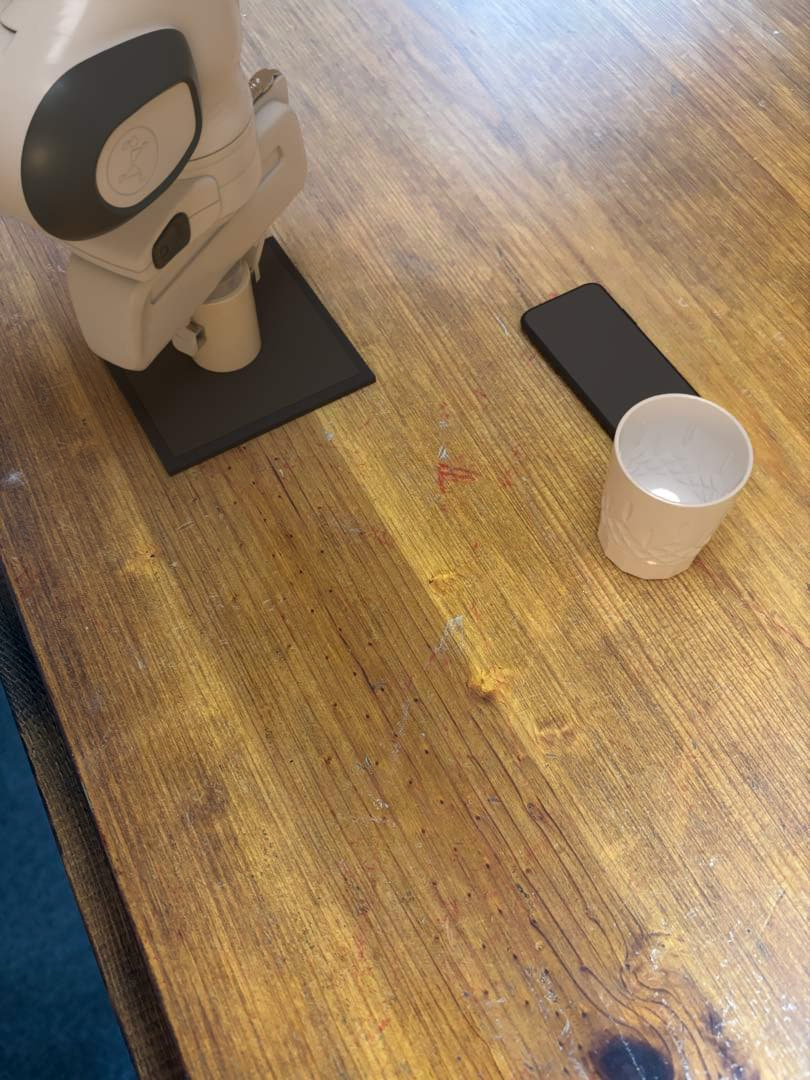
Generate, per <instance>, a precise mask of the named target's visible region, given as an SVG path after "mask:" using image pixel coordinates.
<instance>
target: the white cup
mask: <svg viewBox="0 0 810 1080" xmlns="http://www.w3.org/2000/svg"><path fill="white" fill-rule="evenodd" d="M701 397H702V396H701ZM701 397H697V396H693V395H688V394H662V395H657V396H653V397H650V398H648V399H645V400H643V401H641V402H639V403H638V404H636V405H635V406H633V407H632V408H631V409H630V410H629V411H628V412H627V413H626V414H625V415H624V416H623V418H622V419H621V421H620V423H619V425H618V427H617V430H616V434H615V438H614V439H613V443H612V448H611V452H610V457H609V461H608V465H607V468H606V473H605V474H606V475H605V479H604V483H603V484H604V485H603V490H602V496H601V501H600V508H601V509H600V513H599V516H598V517H599V518H598V526H597V531H596V532H597V534H596V536H597V539H598V542H599V543H600V546H601V548H602V551H603V554H604V556H605V557H607V558H608V559H609V560H610V561H611V562H612V563H613V564H614V565H615V566H616V567H617V568H618V569H619V570H620V571H621V572H624V573H626V574H629V575H632V576H633V577H637V578H639V579H642V580H668V579H670V578H673V577H675V576H678V575H679V574H682V573H683V572H685V571H687V570H689V568H690V567H691V566H692V564H693V562H694V561H695V560H696V558H697V557H698V556H699V554H700V553H701V551H702V549H703V548H704V547H706V545H707V544H709V542H710V540H711V538H712V537H713V536H714V534H715V533H716V531H717V529H718V528H719V527H720V525H721V524H722V523H723V521H724V520H725V518H726V516H727V515H728V513H729V512H730V510H731V508H732V506H733V505H734V503H735V501H736V499H737V498H738V496H739V495H740V493H741V491H742V490H743V488H744V486H745V485H746V483H747V482H748V480H749V478H750V476H751V474H752V470H753V468H754V467H753V466H754V450H753V445H752V442H751V438H750V437H749V435H748V432H747V431H746V429H745V428H744V426H743V425H742V424H741V422H740V421H739V420H738V419H737V418H736V417H735V416H734V415H733V414H732V413H731V412H729V410H727V409H725V408H723V407H722V406H721V405H719V404H717V403H715V402H714V401H711V400H709V399H706V398H703V397H702V398H701Z"/></svg>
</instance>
